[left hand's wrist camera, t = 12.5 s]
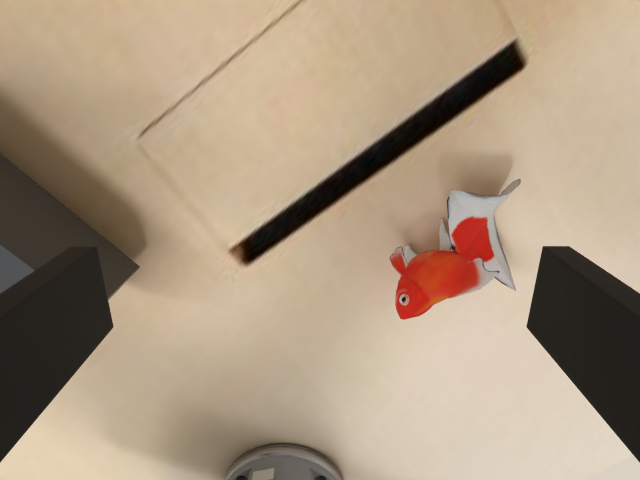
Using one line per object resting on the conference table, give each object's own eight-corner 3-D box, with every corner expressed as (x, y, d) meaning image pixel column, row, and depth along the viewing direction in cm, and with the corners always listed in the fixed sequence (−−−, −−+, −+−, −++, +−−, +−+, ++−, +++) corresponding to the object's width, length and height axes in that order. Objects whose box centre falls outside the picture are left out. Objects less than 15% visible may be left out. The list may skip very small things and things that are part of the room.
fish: (338, 234, 37) (419, 287, 29) (462, 135, 40) (563, 160, 33) (375, 308, 43) (449, 367, 36) (478, 218, 47) (566, 254, 39)
